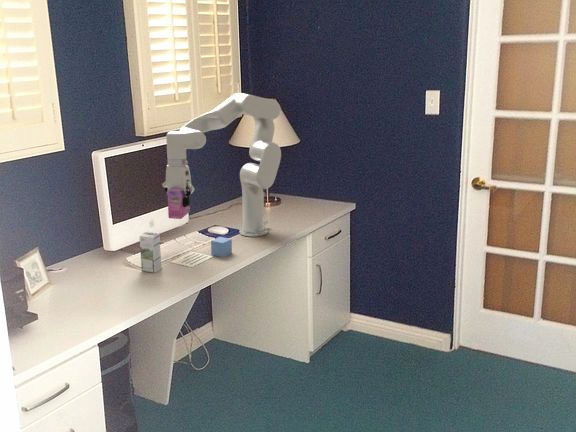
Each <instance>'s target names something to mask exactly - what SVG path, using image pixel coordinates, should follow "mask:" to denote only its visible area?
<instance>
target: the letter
mask: <svg viewBox="0 0 576 432" xmlns="http://www.w3.org/2000/svg"><path fill="white" fill-rule="evenodd" d="M213 258H214V255H208V254H204V253H199V252H195V251H194V252H193V251H190V252H188V253H186V254H184V255H182V256H180V257H177V258H176V259H174V260H171V261H169V263H171V264H175V265H179V266H183V267H188V268H194V267H196V266H199V265H200V264H202V263H204V262H206V261H208V260H210V259H213Z"/></svg>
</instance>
